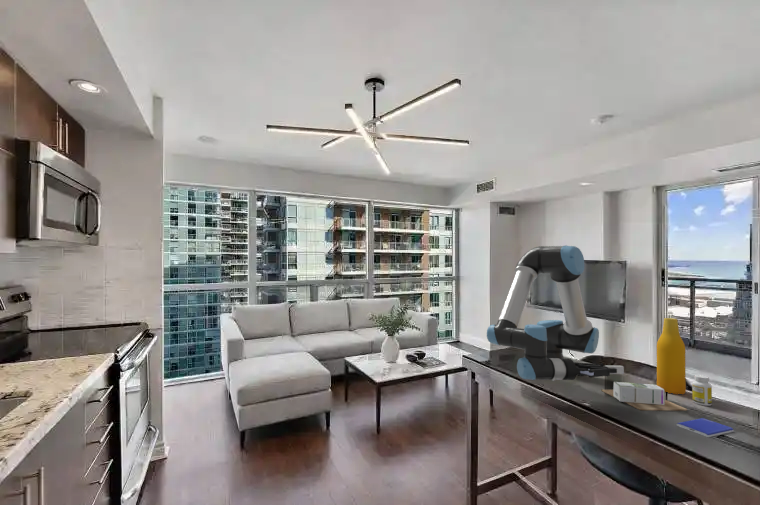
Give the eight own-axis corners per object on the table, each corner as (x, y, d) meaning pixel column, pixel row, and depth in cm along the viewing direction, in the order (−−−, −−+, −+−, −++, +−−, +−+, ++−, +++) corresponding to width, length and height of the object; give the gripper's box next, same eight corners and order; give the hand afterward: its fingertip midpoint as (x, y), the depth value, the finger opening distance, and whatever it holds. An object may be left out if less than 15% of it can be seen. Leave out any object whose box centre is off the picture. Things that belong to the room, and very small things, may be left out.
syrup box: (619, 402, 133) (665, 406, 130) (620, 385, 133) (665, 389, 130) (612, 396, 138) (656, 400, 135) (613, 380, 138) (656, 384, 135)
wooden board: (640, 410, 126) (640, 408, 126) (601, 390, 146) (601, 389, 146) (687, 410, 127) (687, 409, 127) (642, 391, 147) (642, 389, 147)
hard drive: (701, 417, 119) (676, 422, 114) (733, 428, 111) (707, 433, 107) (701, 422, 119) (676, 427, 114) (733, 433, 111) (708, 439, 107)
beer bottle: (687, 391, 149) (686, 319, 150) (684, 396, 142) (684, 321, 143) (658, 385, 155) (658, 316, 156) (654, 390, 149) (654, 318, 150)
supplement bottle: (707, 402, 137) (707, 375, 137) (715, 407, 132) (714, 379, 132) (689, 400, 138) (689, 373, 139) (696, 404, 133) (696, 377, 134)
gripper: (551, 374, 142) (610, 374, 143) (571, 385, 129) (635, 385, 130) (551, 354, 142) (610, 355, 143) (571, 363, 129) (635, 364, 130)
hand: (622, 369), depth 137 cm, fingers closed
